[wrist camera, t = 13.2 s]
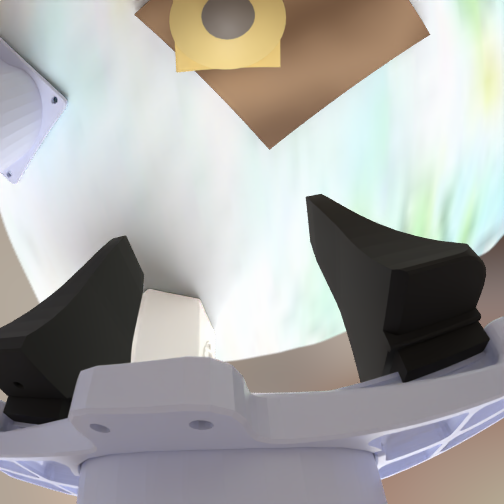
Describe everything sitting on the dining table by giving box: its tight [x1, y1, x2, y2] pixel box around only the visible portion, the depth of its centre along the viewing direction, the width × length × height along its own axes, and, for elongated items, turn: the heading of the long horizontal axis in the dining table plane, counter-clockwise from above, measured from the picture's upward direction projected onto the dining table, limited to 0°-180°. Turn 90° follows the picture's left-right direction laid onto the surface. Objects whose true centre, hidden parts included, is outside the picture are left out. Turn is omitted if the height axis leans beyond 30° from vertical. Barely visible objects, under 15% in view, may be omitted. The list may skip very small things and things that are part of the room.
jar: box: [131, 289, 215, 363], centre depth 24 cm, size 9×8×12 cm
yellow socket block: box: [169, 0, 286, 72], centre depth 12 cm, size 5×5×6 cm
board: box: [134, 0, 430, 150], centre depth 15 cm, size 12×14×1 cm
